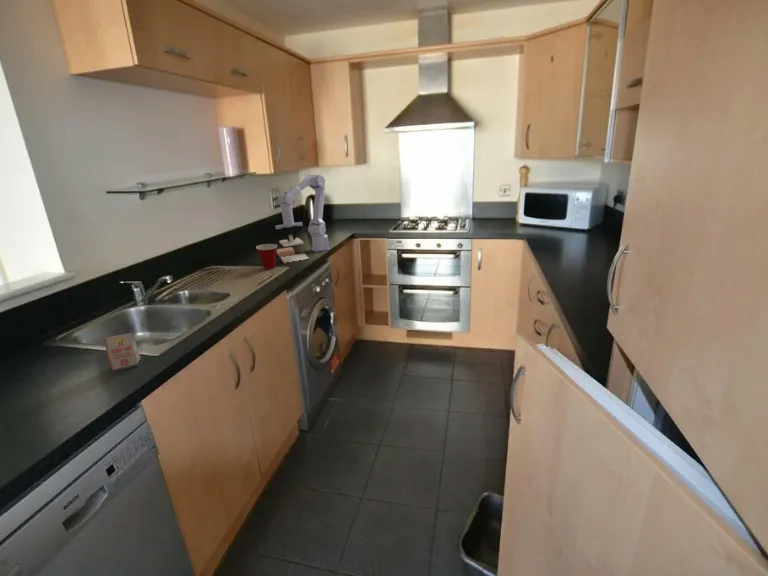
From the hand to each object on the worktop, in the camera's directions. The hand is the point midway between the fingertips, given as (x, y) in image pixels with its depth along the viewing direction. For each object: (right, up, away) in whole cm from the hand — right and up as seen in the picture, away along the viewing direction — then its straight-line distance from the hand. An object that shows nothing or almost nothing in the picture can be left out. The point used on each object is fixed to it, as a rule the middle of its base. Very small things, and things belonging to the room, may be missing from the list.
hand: (291, 240), depth 225 cm
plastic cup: (-8, -16, -13) cm, 22 cm away
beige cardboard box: (-24, -50, -107) cm, 120 cm away
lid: (0, -1, +1) cm, 2 cm away
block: (-6, -7, +13) cm, 16 cm away
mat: (+1, -10, +3) cm, 10 cm away
